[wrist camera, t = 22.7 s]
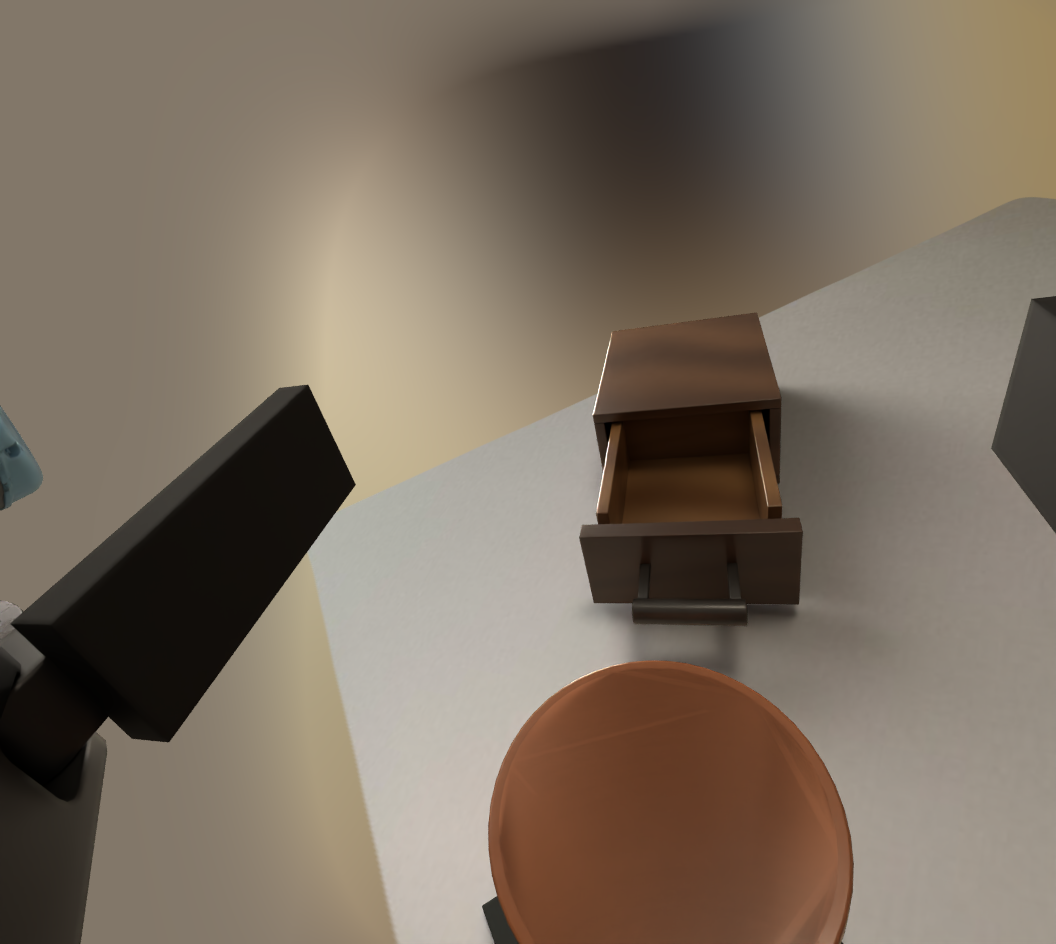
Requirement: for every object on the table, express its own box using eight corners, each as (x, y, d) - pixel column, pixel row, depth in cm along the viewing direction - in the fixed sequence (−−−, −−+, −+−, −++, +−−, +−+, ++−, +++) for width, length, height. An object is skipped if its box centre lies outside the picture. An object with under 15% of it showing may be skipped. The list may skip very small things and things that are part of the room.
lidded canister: (547, 1043, 22) (418, 866, 13) (648, 842, 26) (597, 621, 18) (768, 1258, 17) (776, 1189, 9) (842, 967, 22) (894, 742, 13)
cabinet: (779, 483, 45) (781, 398, 41) (606, 492, 49) (592, 415, 45) (757, 384, 58) (757, 312, 54) (621, 397, 62) (612, 331, 58)
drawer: (811, 664, 31) (817, 589, 28) (585, 656, 35) (568, 589, 32) (767, 458, 47) (768, 394, 44) (614, 467, 50) (604, 409, 47)
